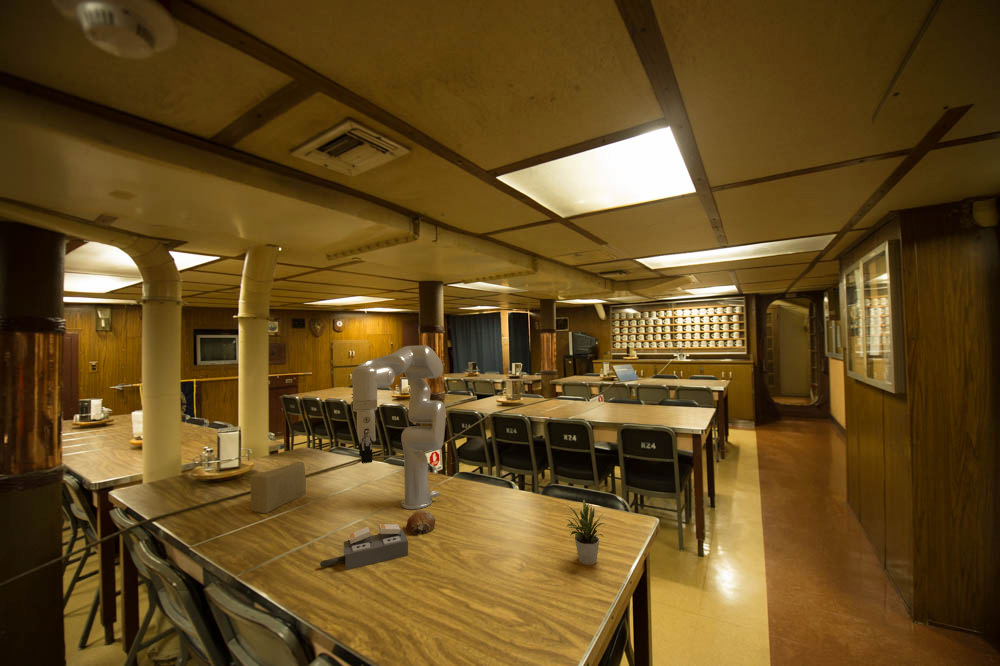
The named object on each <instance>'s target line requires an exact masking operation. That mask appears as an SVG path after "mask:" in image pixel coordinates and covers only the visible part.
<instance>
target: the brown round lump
mask: <svg viewBox="0 0 1000 666" xmlns="http://www.w3.org/2000/svg"><path fill="white" fill-rule="evenodd" d="M435 524H436V519H435V516H434V515H433V514H432V513H431V512H430V511H428V510H425V509H423V510H422V509H421V510H419V509H418V510H416V511H414V513H412V514H411V516H409V517H408V518H407V522H406V530H407V532H408V533H409V534H410V533H411V535H416V534H421V535H424V533H425V534H428V533H429V531H430V532H432V531H433V530H434V529H435ZM431 530H432V531H431ZM427 532H428V533H427Z"/></svg>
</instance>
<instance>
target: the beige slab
mask: <svg viewBox="0 0 1000 666" xmlns="http://www.w3.org/2000/svg"><path fill="white" fill-rule="evenodd" d="M306 478H307V477H306V467H305V462H304V461H296V462H294V463H290V464H288V465H284V466H282V467H279V468H278V467H277V468H275V469H270V470H267V471H262V472H257V473H253V474H251V475H250V509H251V510H250V511H252V512H255V513H259V514H268V513H270V512H271V511H273V510H276V509H277V508H279V507H281V506H283V505H286V504H287V503H289V502H292V501H295V500H297V499H299V498H301V497H304V496H305V495H306V492H307V479H306Z"/></svg>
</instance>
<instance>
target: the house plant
mask: <svg viewBox="0 0 1000 666" xmlns="http://www.w3.org/2000/svg"><path fill="white" fill-rule="evenodd" d="M582 502H583V503H582V505H583V506H582V507H583V508H582V510H580V513H579V515H580V517H579V515H578V514H577V512H576V510H575V509H573V508H572V507H571V506H569V505H567V504H562V505H564V506H566V507H568V508H569V509H570V510H571V511H572V512H573V514H574V515H575V516H573V515H572V514H569V513H564V514H562V515H563V516H570V518H571V519H573V521H574V522H575V523H576V524H577V525H576V524H574V523H573V521H571V520H570V519H567V518H566V519H565V520H566V521H568V522H569V523H568V524H567V525H566V527H565V528H567V527H568V528H569V529H568V531H571V532H570V535H569V536H571V535H574V540H575V541H574V542H575V546H576V552H577V557H578V558H577V559H578V561H579V563H581V564H582V565H587V566H590V565H594V564H596V563H597V562H598V553H599V545H600V538H599V537H598V536H601V537H602V538H604V537H603V533H599V534H597V533H598V530H597V528H598V527H600V526H601V525H606V523H605V522H600V523H598V522H599V521H600V520H602V519H603V517H602V516H603V515H604V514H605V513H604V512H603V513H602V514H601V515H600V516H599V518H598V519H597V520H596V521H594V519H595V513H596V512H595V507H593V505H592V504H590V503H586V500H585V499H583V500H582ZM593 521H594V522H593ZM574 529H575V530H574Z"/></svg>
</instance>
